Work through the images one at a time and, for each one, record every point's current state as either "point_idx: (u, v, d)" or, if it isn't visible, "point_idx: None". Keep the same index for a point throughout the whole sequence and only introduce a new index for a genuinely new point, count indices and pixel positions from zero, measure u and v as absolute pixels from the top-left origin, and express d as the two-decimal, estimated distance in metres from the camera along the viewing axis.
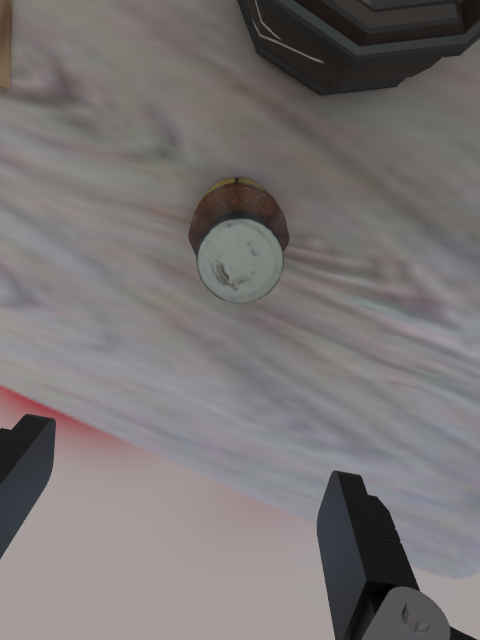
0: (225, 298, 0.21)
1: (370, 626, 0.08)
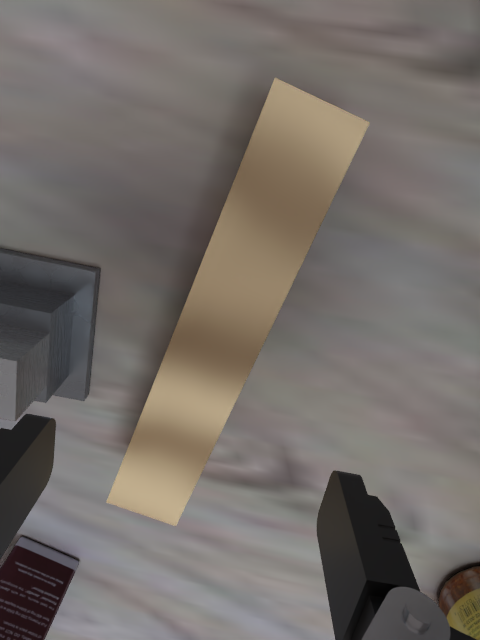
0: None
1: (370, 626, 0.08)
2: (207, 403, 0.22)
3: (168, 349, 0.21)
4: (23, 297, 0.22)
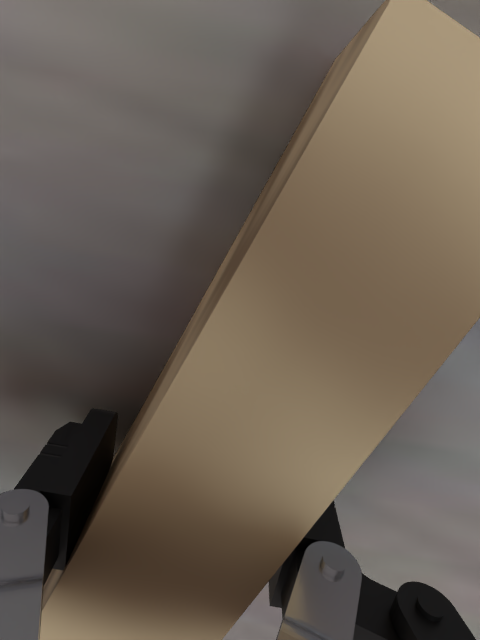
0: None
1: (294, 587, 0.08)
2: None
3: (71, 565, 0.10)
4: None
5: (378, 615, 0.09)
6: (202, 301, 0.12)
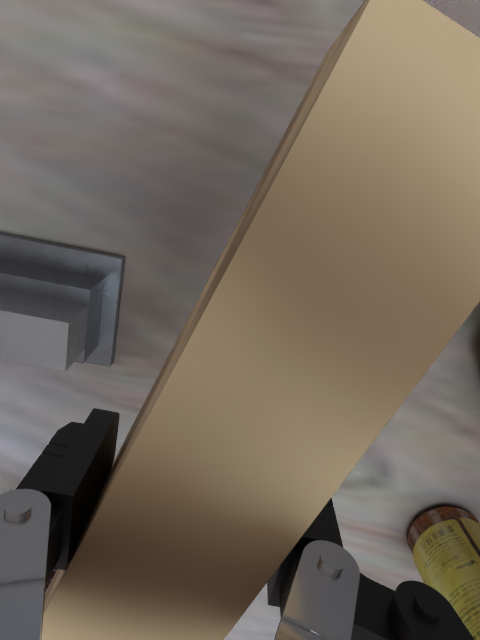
0: None
1: (293, 586, 0.08)
2: None
3: (71, 566, 0.10)
4: (66, 278, 0.28)
5: (376, 614, 0.09)
6: (198, 300, 0.12)
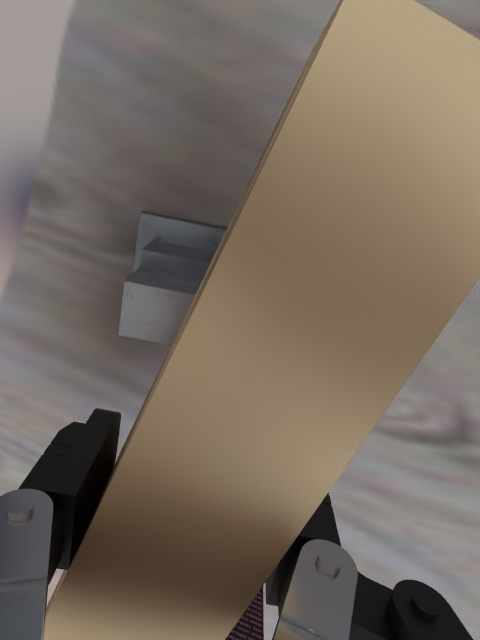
0: None
1: (291, 585, 0.08)
2: None
3: (72, 567, 0.10)
4: None
5: (374, 613, 0.09)
6: (193, 300, 0.12)
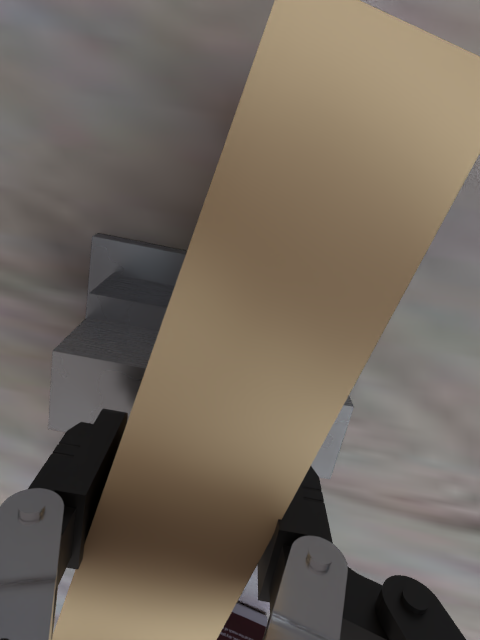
0: None
1: (282, 582, 0.08)
2: (170, 631, 0.12)
3: (86, 546, 0.11)
4: None
5: (363, 609, 0.09)
6: None
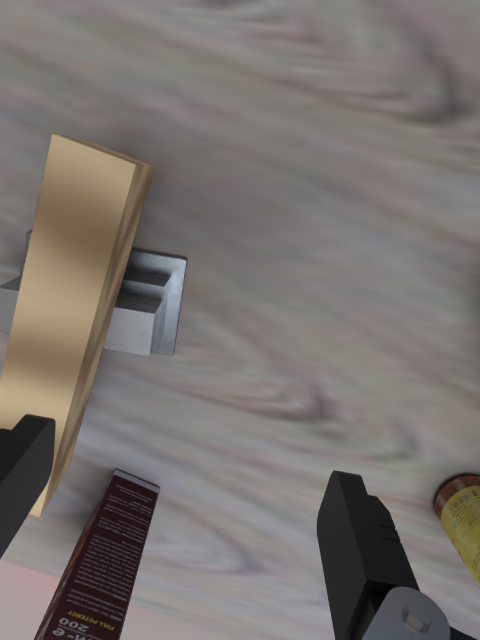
0: None
1: (370, 626, 0.08)
2: (47, 404, 0.25)
3: (6, 360, 0.24)
4: (140, 277, 0.33)
5: None
6: None
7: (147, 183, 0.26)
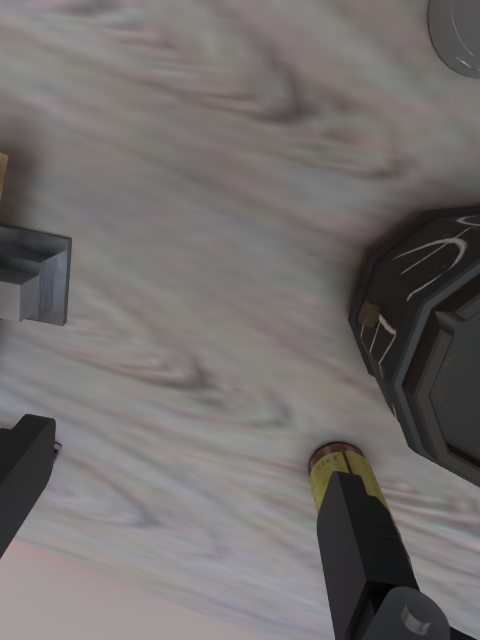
0: None
1: (370, 626, 0.08)
2: None
3: None
4: (23, 254, 0.37)
5: None
6: None
7: (0, 171, 0.30)
